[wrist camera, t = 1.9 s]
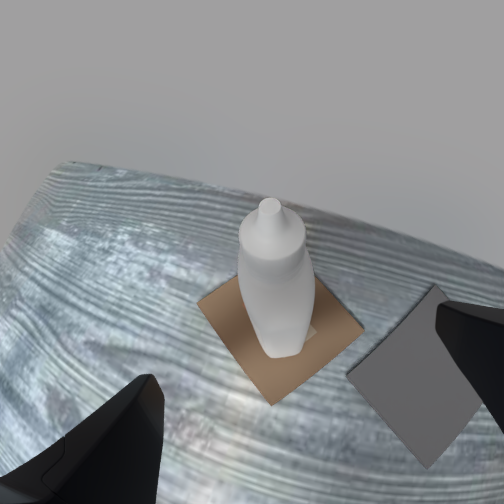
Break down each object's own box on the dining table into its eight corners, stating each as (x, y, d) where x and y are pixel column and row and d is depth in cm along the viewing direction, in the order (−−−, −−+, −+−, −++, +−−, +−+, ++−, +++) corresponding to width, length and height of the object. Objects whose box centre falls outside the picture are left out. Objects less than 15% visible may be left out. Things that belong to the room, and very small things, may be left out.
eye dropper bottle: (233, 345, 19) (167, 261, 8) (263, 273, 21) (241, 140, 11) (295, 367, 18) (311, 310, 7) (321, 291, 20) (353, 164, 10)
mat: (501, 369, 15) (504, 368, 14) (425, 468, 13) (427, 469, 12) (433, 286, 19) (435, 284, 19) (345, 376, 17) (346, 375, 17)
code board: (363, 331, 18) (365, 330, 18) (271, 406, 17) (271, 406, 16) (283, 244, 23) (283, 242, 22) (197, 304, 21) (196, 302, 21)
